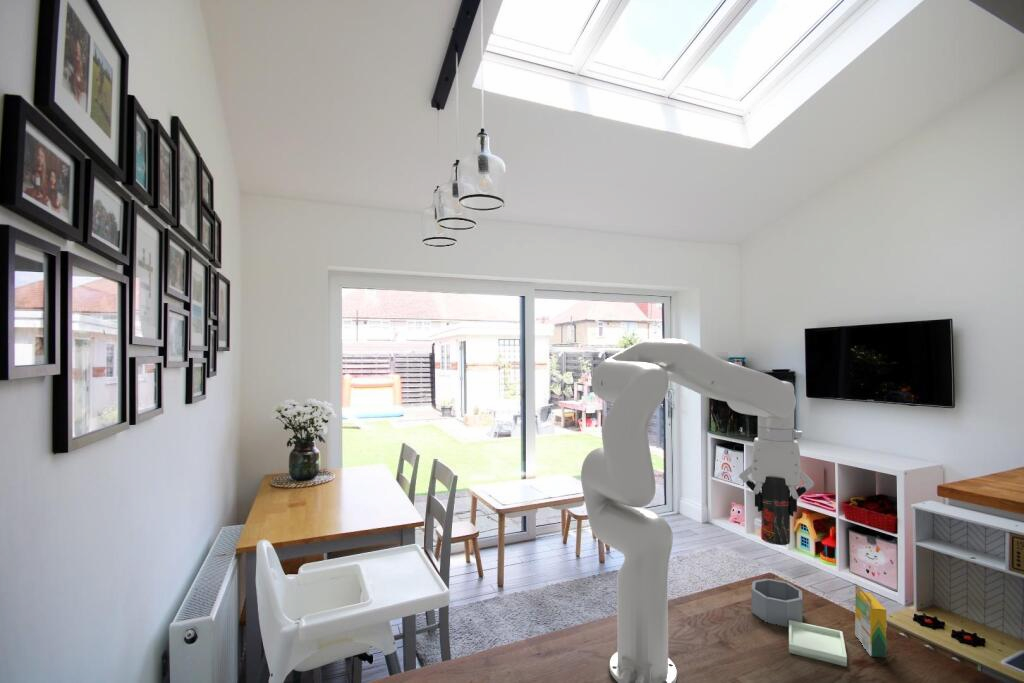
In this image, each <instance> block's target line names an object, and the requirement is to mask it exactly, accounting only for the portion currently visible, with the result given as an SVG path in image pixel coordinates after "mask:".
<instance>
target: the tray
mask: <svg viewBox="0 0 1024 683" xmlns="http://www.w3.org/2000/svg"><path fill="white" fill-rule="evenodd" d="M788 652H789V654H794V655H797V656H800V657H801V656H802V657H807V658H810V659H813V660H816V661H817V660H818V661H822V662H826V663H830V664H834V665H839V666H842V667H848V655H847V651H846V644H845V639H844V633H843V631H842V630H837V629H832V628H829V627H824V626H819V625H814V624H809V623H805V622H803V623H801V622H796V621H792V620H789V627H788Z"/></svg>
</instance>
